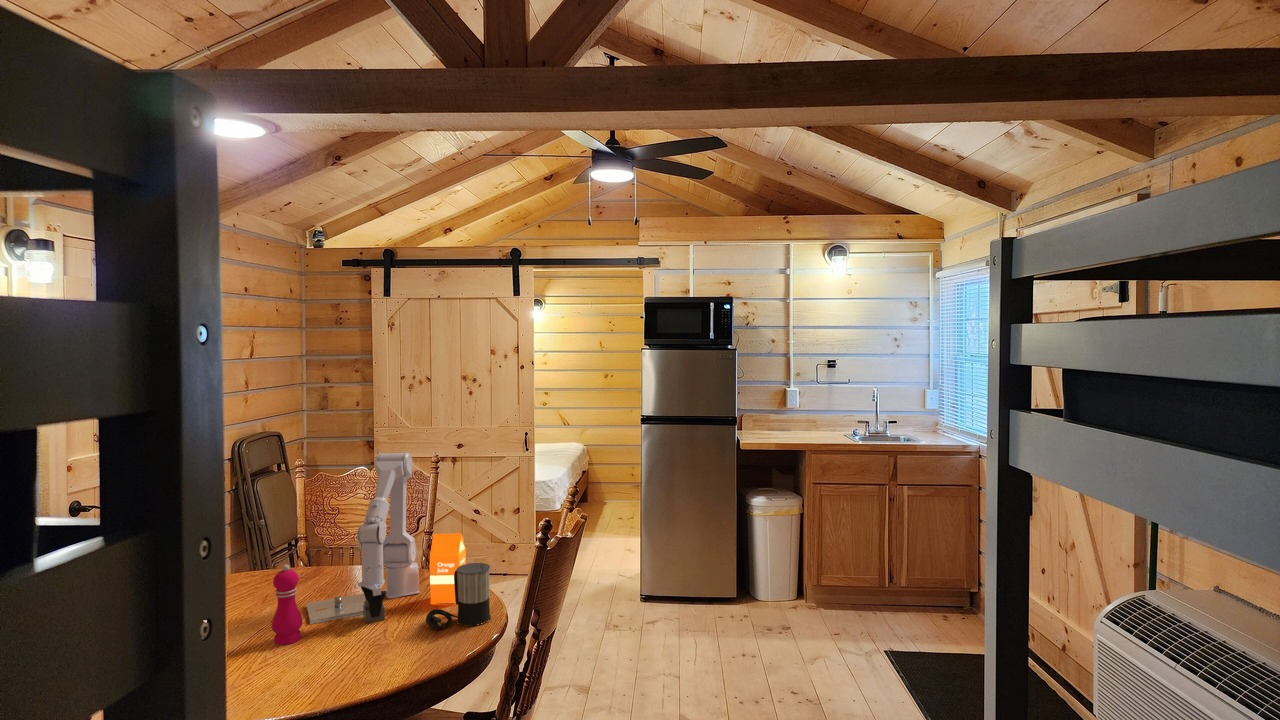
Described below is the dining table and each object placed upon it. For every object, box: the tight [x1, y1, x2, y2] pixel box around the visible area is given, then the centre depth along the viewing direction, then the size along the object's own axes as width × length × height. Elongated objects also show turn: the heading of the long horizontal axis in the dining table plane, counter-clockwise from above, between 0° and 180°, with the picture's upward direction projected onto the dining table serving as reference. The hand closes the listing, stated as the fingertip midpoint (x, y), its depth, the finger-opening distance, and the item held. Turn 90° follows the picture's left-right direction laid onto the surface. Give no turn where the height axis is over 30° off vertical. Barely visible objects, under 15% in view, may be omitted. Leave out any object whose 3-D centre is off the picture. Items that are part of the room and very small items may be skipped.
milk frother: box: [425, 562, 492, 630], centre depth 195 cm, size 14×16×15 cm
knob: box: [362, 600, 386, 624], centre depth 199 cm, size 5×5×5 cm
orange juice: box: [429, 533, 467, 605], centre depth 213 cm, size 8×9×20 cm
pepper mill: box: [271, 564, 303, 646], centre depth 185 cm, size 7×7×20 cm
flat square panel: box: [305, 592, 366, 625], centre depth 207 cm, size 16×16×4 cm
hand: (373, 613), depth 199 cm, fingers closed on knob, 5 cm apart
